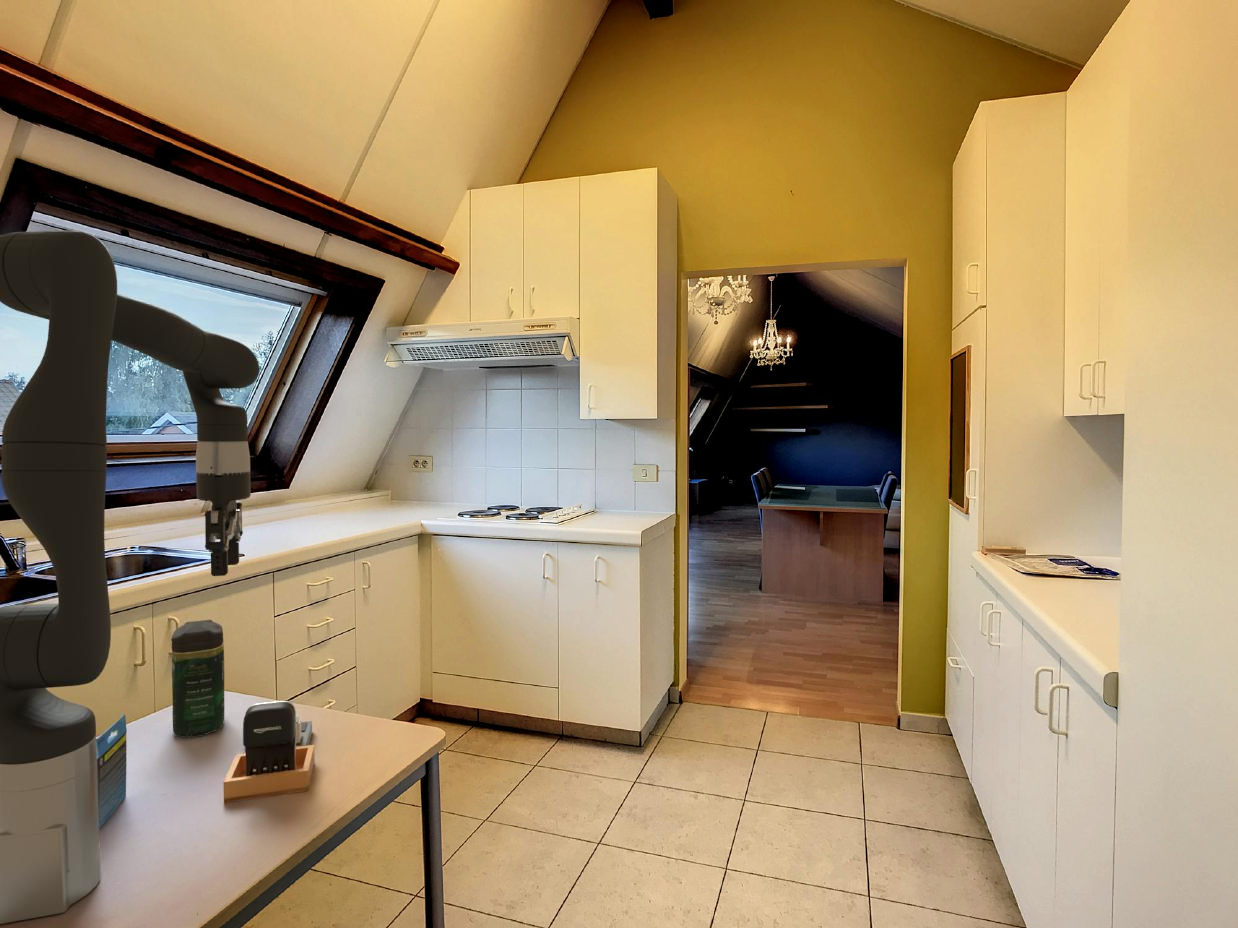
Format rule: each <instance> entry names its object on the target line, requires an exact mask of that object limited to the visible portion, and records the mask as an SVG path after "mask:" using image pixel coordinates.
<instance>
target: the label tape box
mask: <svg viewBox="0 0 1238 928" xmlns="http://www.w3.org/2000/svg"><path fill="white" fill-rule="evenodd" d="M126 721H127V719H126V714H125V713H124V714H123V715H122V716H121V717H120V718H119V719H118V720H116V722H114V723H113V724H112V725H111V726H109V727H108V728H107V729H106V730H105V731H104V732H103V733H102V734H100V735H99V736H98V737H96V752H97V786H98V816H99V830H100V829H101V827H102V826H103V825H104V824H105V822H106V821H107V820H108V819H109V818H110V816H112V814H113V813H114V811H116V809H117V808H118V806H120V804H121V803H122V802H123V801H124V799H125V798H126V796H127V732H128V731H127V722H126ZM112 733H113V734H115V733H116V734H115V735H113V736H111V735H112Z"/></svg>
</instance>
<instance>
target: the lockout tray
mask: <svg viewBox="0 0 1238 928" xmlns="http://www.w3.org/2000/svg"><path fill="white" fill-rule="evenodd" d="M314 767H315V744H309V745H308V746H301V747H296V770H290V771H283V772H276V773H268V774H261V775H254V776H246V753H245V754H243V753H238V754H235V757H234V759H233V761H232V762H231V765H230V767H229V770H228V772H227V773H226V775H225V778H224V781H223V783H222V784H223V804H224V803H232V802H238V801H245V800H254V799H259V798H265V797H267V798H268V797H272V796H278V795H287V794H293V793H301V792H306V791H307V792H308V791H309V790H310V785H311V781H312V777H313V772H314Z"/></svg>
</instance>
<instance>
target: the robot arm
mask: <svg viewBox="0 0 1238 928" xmlns="http://www.w3.org/2000/svg"><path fill="white" fill-rule="evenodd" d="M117 275H118V274H117V270H116V265H115V262H114V259H113V256H112V255H111V252H110V251H109V250H108V248H107V247H106V245H105V243H103V242H102V240H100V238H98V237H97V236H95V235H93V234H92V233H88V232H85V231H80V230H43V231H16V232H15V231H14V232H9V233H4V234H0V303H1V304H3V305H4V306H6V307H8V308H10V309H12V310H15V311H16V312H20V313H23V314H26V315H29V316H30V315H31V316H33V317H38V318H41V319H43V320H49V321H48V331H47V332H48V333H47V341H46V345H45V349H44V353H43V356H42V359H41V361H40V363H39V364H38V367H37V368H36V370H35V371H34V373H33V375H32V377H30V379H29V381H28V383H27V384H26V386H25V387H24V388H23V389H22V391H21V393H20V394H19V395H18V397H17V399H16V400H15V402H14V404H13V405H12V407H11V408H10V410H9V412H8V415H7V417H6V419H5V421H4V424H3V427H2V434H1V442H2V444H1V474H0V477H1V485H2V486H1V487H2V489H3V492H4V494H5V497H6V499H7V500H8V502H9V503H10V505H11V507H12V509H14V511H15V512H16V513H17V515H18V516H19V518H20V519H21V520H22V522H23V523H24V524H25V526H26V527H27V528H28V530H29V531H30V532H31V533H32V535H33V536H35V538H36V539H37V540H38V542H39V544H40V546H42V548H43V549H44V550H45V552H46V555H47V556H48V558H49V561H50V562H51V565H52V568H53V572H54V576H55V581H56V587H57V599H58V602H56V603H54V602H53V603H51V602H50V603H31V604H30V603H28V604H14V605H13V604H12V605H7V606H3V607H1V608H0V925H2V924H6V923H8V924H9V923H12V922H13V923H14V922H19V921H23V920H24V921H25V920H30V919H34V918H35V919H36V918H41V917H46V916H47V917H48V916H51V915H52V916H53V915H57V914H62V913H65V912H66V911H67V910H68V909H69V908H70V906H72V905H73V904H75V903H76V902H78V901H79V900H81V899H82V898H84V897H86V896H88V894H89V893H90V892H92V891H93V890H94V889H95V887H97V885H98V883H100V881H101V880H100V879H101V848H100V847H101V846H100V845H101V844H100V829H99V816H98V786H97V752H96V739H97V730H96V729H97V724H96V716H95V714H94V711H92V710H91V709H90V708H89V707H87V706H85V705H82V704H78V703H74V702H71V701H67V700H65V699H63V698H60V697H58V696H57V695H55V694H54V693H52V692H51V691H49V690H48V688H49V689H51V688H62V687H63V688H64V687H76V686H82V685H87V684H90V683H92V682H93V681H95V680H96V679H98V677H100V675H101V674H102V672H103V671H104V670H105V667H106V664H107V661H108V658H109V654H110V649H111V639H112V638H111V637H112V636H111V635H112V623H111V606H110V597H109V596H110V595H109V588H108V587H109V585H108V574H107V566H106V565H107V563H106V547H105V507H106V489H107V487H106V486H107V466H108V465H107V464H108V463H107V462H108V460H107V459H108V457H107V456H108V455H107V453H108V450H107V449H108V446H107V445H108V442H107V440H108V439H107V404H108V403H107V398H108V381H109V380H108V378H109V377H108V376H109V362H110V353H111V348H112V347H111V346H112V341H113V342H115V343H117V344H120V345H123V346H126V347H127V348H129V349H133V350H134V351H136V352H139V353H141V354H143V355H146V357H147V356H148V357H149V358H151V359H153V360H156V361H158V362H159V363H162V364H164V365H166V366H169V367H170V368H172V369H175V370H178V371H182V374H183V378H184V381H185V384H186V387H187V390H188V393H189V396H190V400H191V403H192V405H193V409H194V412H195V415H196V437H197V439H196V440H197V443H196V444H197V445H196V452H195V473H196V474H195V475H196V476H195V477H196V480H195V481H196V498H197V500H198V501H204V502H211V509H210V510H206V511H205V513H204V518H205V519H204V521H205V522H204V526H205V527H204V529H205V530H204V531H205V532H204V533H205V538H204V539H205V544H204V547H205V550H206V551H208V552H209V553H210V575H211V576H212V577H224V576H227V574H229V566H237V565H238V564H239V563H240V543H239V542H240V541H241V540H242V539H241V538H242V537H243V534H244V530H243V513H242V512H243V509H242V506H243V503H242V500H246V499H247V500H248V499H249V498H250V497H251V494H252V493H251V491H252V490H251V456H250V455H251V454H250V453H251V452H250V448H249V442H248V438H249V436H248V414H247V410H246V409H245V407H243V406H241V405H238V404H235V403H229V402H227V401H226V400H225V399H224V398H223V396H222V393H221V390H223V389H225V390H226V389H229V390H230V389H231V390H235V389H236V390H237V389H244V388H248V387H250V386H251V385H253V384H254V383H255V382H256V381H257V379H258V376H259V374H260V364H259V360H258V358H257V357H256V354H255V353H254V352H253V350H251V349H250V348H249V347H248V346H247V345H245V344H243V343H242V342H240V341H237V340H235V339H232V338H229V337H226V336H223V335H220V334H218V333H214V332H210V331H207V330H204V329H203V328H201V327H199V326H198V325H196V324H195V323H193V322H191V321H189V320H187V318H184V317H182V316H181V315H179V314H177V313H175V312H173V311H171V310H169V309H166V308H164V307H161V306H159V305H155V304H152V303H150V302H145V301H143V300H139V299H136V298H132V297H128V296H126V295H122V294H119V293H118V276H117ZM220 389H221V390H220ZM218 540H219V541H218Z"/></svg>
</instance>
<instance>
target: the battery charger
mask: <svg viewBox="0 0 1238 928" xmlns="http://www.w3.org/2000/svg"><path fill="white" fill-rule="evenodd" d="M244 714H245V715H244V717H243V723H242V745H243V747H244V750H245V753H246V776H254V775H261V774H268V773H276V772H283V771H290V770H296V717H297V712H296V707H295V704H294V703H293V702H292V701H289V700H286V699H285V700H273V701H263V702H262V701H261V702H258V703H257V702H256V703H254V704H252V705H250V706H249V707H248V708H247V710H246V711H245V713H244Z"/></svg>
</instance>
